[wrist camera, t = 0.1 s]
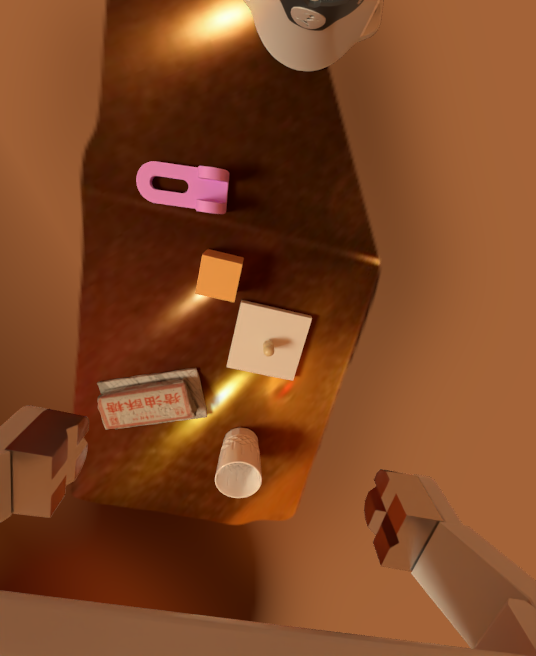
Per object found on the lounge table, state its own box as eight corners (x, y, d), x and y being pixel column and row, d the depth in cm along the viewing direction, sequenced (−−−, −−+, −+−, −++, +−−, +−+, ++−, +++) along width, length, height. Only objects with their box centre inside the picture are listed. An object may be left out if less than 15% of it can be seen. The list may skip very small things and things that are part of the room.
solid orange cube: (208, 248, 54) (202, 254, 49) (244, 257, 55) (242, 264, 49) (201, 283, 56) (195, 293, 51) (236, 292, 57) (234, 302, 51)
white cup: (264, 427, 67) (265, 464, 57) (257, 459, 69) (257, 500, 60) (223, 421, 66) (217, 459, 57) (218, 454, 69) (212, 495, 59)
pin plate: (241, 299, 58) (240, 309, 52) (310, 315, 59) (315, 326, 54) (227, 363, 62) (224, 378, 56) (292, 376, 63) (295, 392, 58)
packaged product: (105, 441, 62) (87, 393, 58) (115, 425, 66) (99, 379, 63) (205, 428, 61) (192, 378, 58) (208, 412, 66) (197, 365, 62)
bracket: (229, 172, 51) (225, 169, 44) (226, 212, 53) (221, 214, 46) (139, 159, 50) (121, 153, 43) (139, 200, 52) (122, 200, 45)
